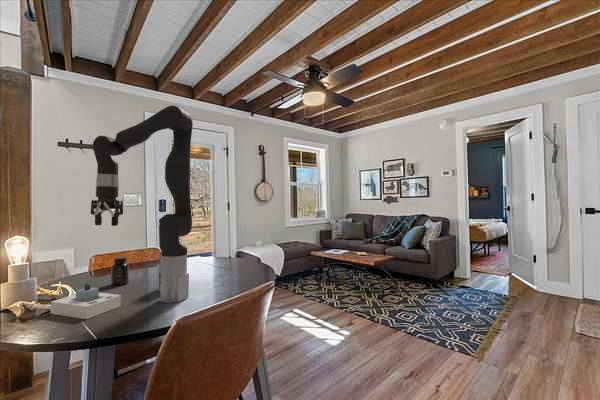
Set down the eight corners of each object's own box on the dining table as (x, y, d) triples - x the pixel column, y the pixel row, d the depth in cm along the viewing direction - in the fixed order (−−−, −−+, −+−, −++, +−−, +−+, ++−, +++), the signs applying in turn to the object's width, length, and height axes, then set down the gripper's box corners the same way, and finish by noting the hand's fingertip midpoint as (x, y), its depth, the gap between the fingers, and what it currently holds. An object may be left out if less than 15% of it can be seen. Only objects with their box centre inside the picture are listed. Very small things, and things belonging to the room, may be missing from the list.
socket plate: (120, 306, 99) (120, 294, 99) (86, 319, 87) (87, 306, 87) (87, 301, 103) (87, 290, 103) (50, 313, 91) (50, 301, 91)
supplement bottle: (132, 282, 130) (132, 256, 130) (121, 286, 123) (121, 259, 123) (118, 281, 130) (119, 256, 131) (107, 285, 123) (107, 259, 124)
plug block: (98, 308, 96) (99, 282, 97) (85, 313, 92) (86, 286, 92) (88, 307, 98) (89, 281, 98) (75, 311, 93) (76, 285, 94)
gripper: (129, 186, 114) (128, 225, 113) (102, 186, 118) (101, 224, 117) (112, 184, 107) (111, 226, 106) (85, 185, 110) (83, 225, 110)
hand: (106, 225), depth 112 cm, fingers open, 8 cm apart
